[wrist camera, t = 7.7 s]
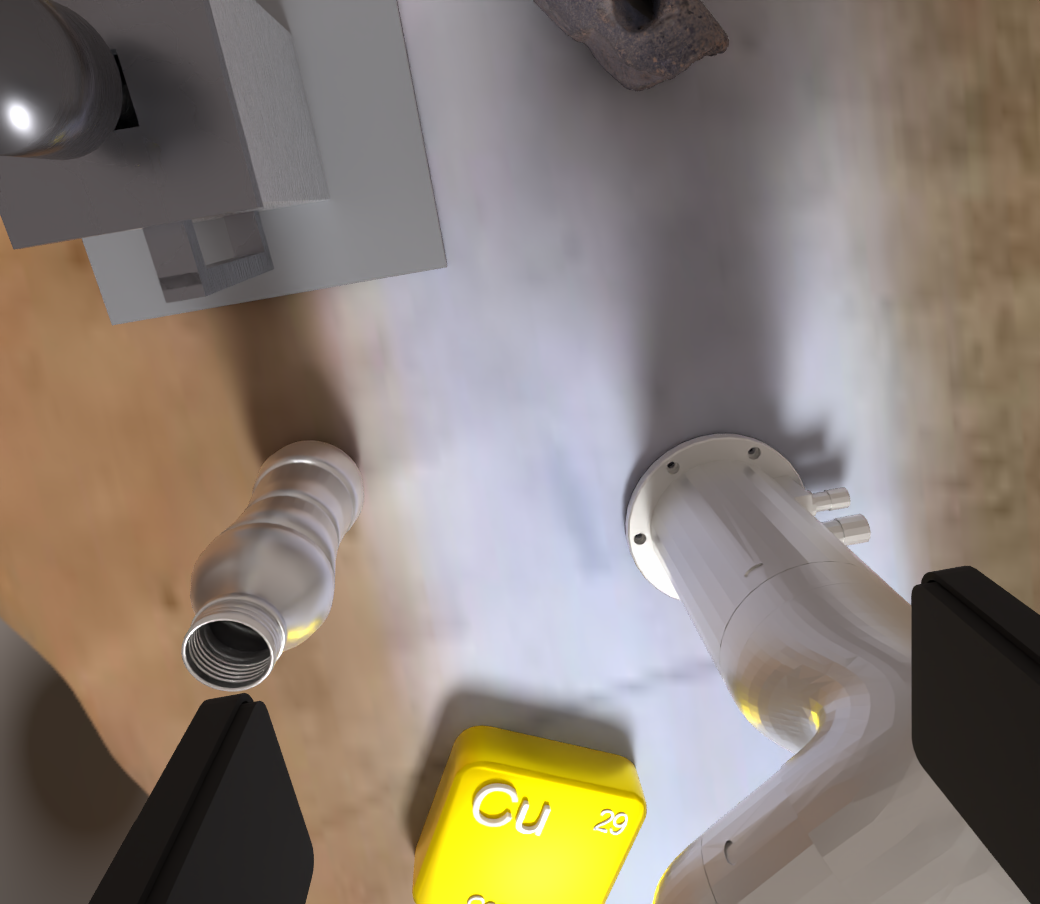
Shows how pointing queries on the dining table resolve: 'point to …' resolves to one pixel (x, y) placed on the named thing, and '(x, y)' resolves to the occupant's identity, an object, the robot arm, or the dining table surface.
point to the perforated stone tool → (640, 35)
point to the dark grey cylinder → (56, 83)
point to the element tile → (527, 822)
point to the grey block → (181, 143)
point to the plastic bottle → (272, 566)
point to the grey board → (347, 167)
